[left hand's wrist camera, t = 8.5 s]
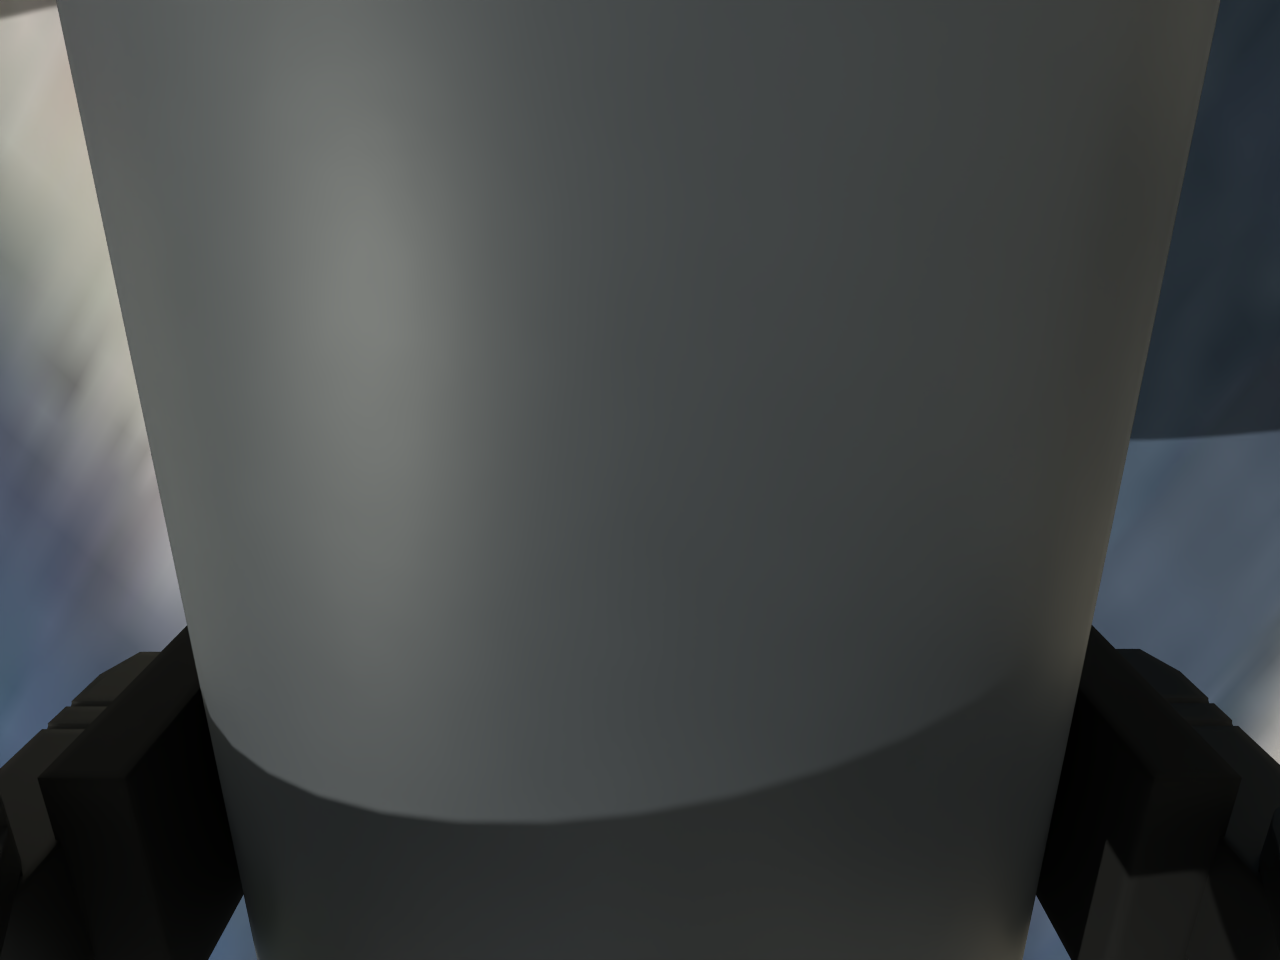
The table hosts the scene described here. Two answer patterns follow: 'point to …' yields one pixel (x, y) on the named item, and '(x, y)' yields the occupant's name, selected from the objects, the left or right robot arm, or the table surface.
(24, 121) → the table surface
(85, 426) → the table surface
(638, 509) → the dark grey cylinder
